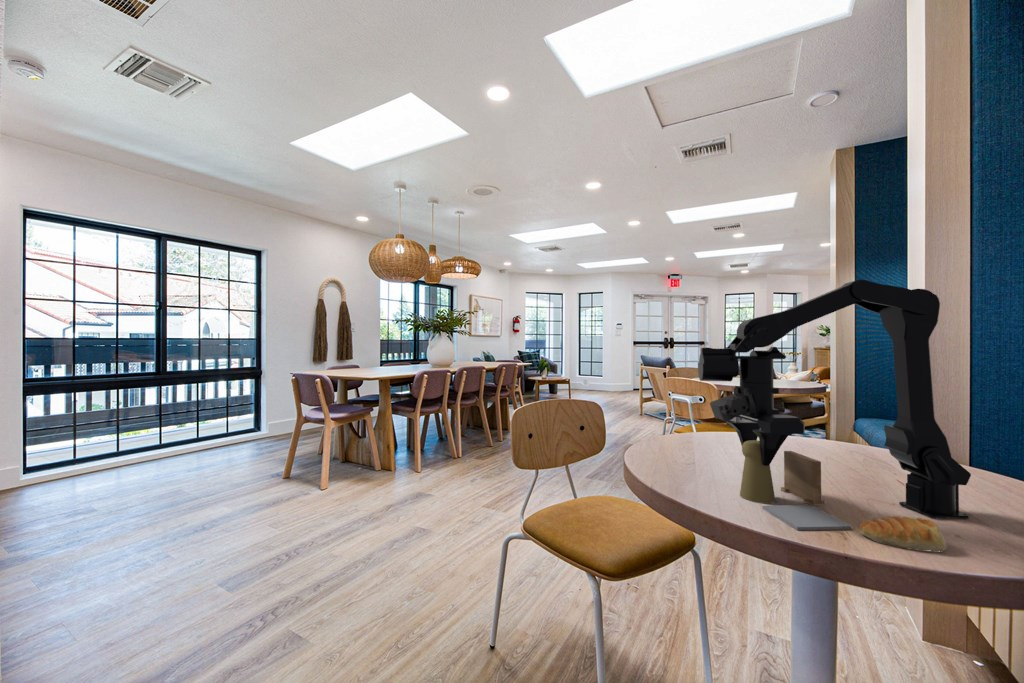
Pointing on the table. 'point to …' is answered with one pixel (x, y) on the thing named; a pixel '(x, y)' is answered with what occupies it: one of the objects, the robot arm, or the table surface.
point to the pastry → (904, 533)
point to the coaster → (806, 517)
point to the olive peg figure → (756, 475)
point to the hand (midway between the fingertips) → (757, 461)
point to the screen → (802, 477)
